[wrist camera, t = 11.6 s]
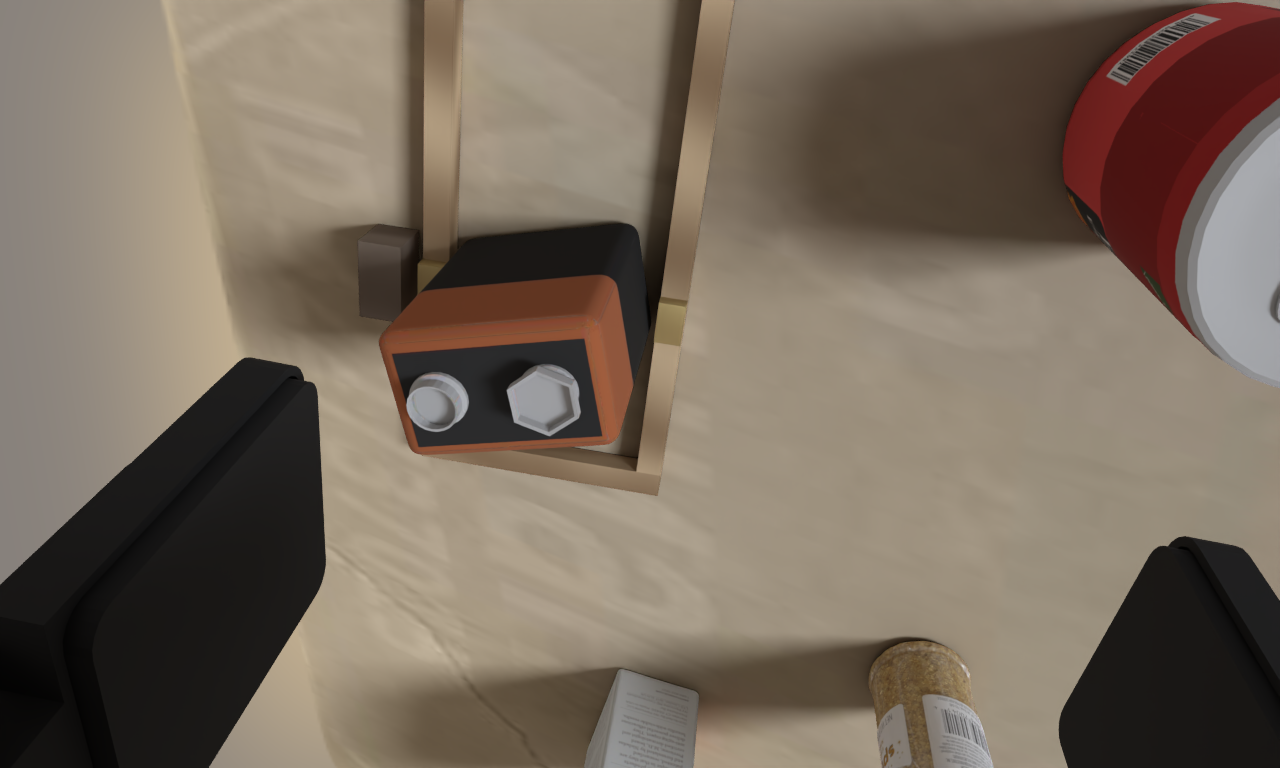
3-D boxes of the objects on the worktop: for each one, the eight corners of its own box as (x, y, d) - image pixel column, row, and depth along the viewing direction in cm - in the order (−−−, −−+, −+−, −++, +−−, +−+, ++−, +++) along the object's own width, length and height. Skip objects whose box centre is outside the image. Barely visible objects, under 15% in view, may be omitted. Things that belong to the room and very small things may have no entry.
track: (371, -119, 29) (346, -121, 28) (745, -68, 29) (743, -66, 27) (382, 435, 39) (364, 459, 38) (659, 482, 39) (654, 510, 37)
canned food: (1020, 224, 32) (1129, 364, 22) (1111, -23, 28) (1292, 14, 18) (1242, 266, 32) (1451, 425, 22) (1364, 21, 28) (1683, 84, 18)
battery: (654, 326, 35) (615, 466, 27) (487, 340, 37) (397, 477, 28) (638, 218, 33) (591, 329, 25) (462, 236, 35) (357, 348, 26)
